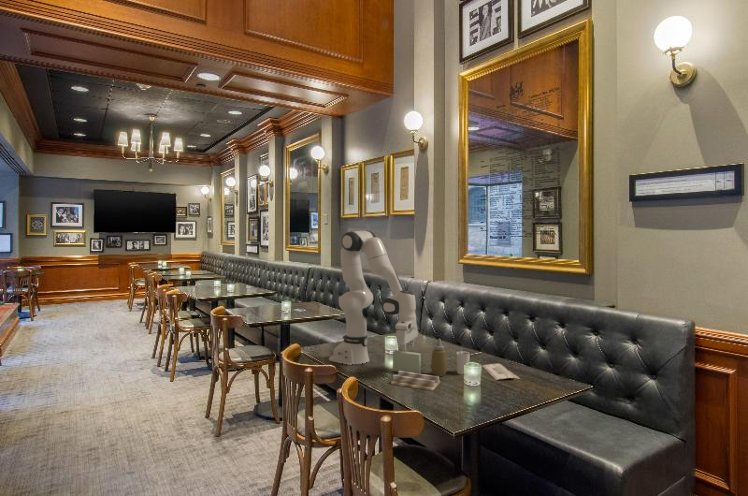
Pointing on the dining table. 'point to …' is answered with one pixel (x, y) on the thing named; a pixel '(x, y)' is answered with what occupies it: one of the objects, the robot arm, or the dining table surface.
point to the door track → (416, 380)
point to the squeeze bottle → (439, 360)
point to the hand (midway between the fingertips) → (408, 350)
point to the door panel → (407, 361)
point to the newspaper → (499, 372)
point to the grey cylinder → (462, 361)
